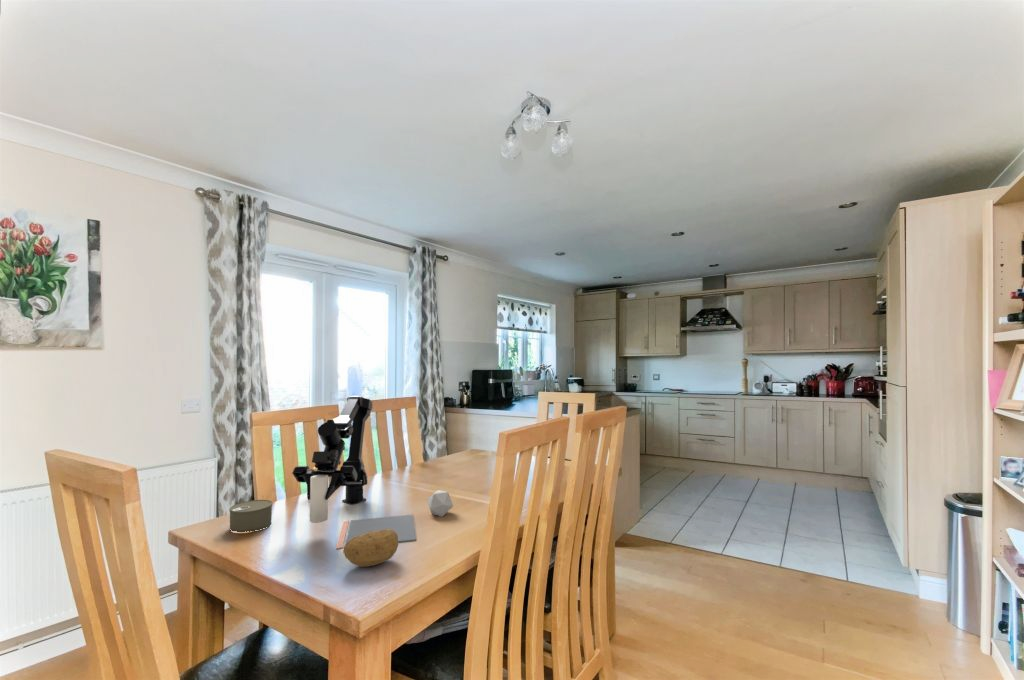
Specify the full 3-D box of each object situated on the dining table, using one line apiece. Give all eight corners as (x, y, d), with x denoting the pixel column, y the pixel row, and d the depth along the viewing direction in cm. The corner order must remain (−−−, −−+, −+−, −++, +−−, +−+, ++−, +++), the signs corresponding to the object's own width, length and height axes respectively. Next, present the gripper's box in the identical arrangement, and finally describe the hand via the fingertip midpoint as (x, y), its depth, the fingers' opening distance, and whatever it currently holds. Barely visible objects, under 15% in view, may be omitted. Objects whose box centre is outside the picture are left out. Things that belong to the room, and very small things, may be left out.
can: (279, 525, 145) (279, 503, 145) (240, 537, 135) (240, 514, 135) (260, 518, 152) (261, 497, 152) (221, 529, 142) (222, 507, 142)
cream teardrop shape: (306, 520, 135) (307, 477, 136) (321, 515, 139) (322, 473, 140) (315, 524, 133) (316, 479, 133) (331, 518, 137) (331, 476, 137)
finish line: (342, 548, 127) (342, 547, 127) (336, 549, 126) (336, 548, 126) (348, 521, 148) (348, 520, 148) (343, 522, 147) (343, 521, 147)
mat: (344, 548, 127) (344, 546, 127) (351, 521, 148) (351, 520, 148) (416, 540, 132) (416, 539, 132) (412, 515, 153) (412, 514, 153)
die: (457, 515, 155) (453, 488, 161) (447, 510, 148) (443, 482, 154) (436, 523, 156) (432, 496, 162) (425, 518, 149) (422, 490, 155)
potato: (339, 564, 117) (339, 533, 118) (392, 551, 125) (392, 522, 125) (348, 579, 109) (348, 546, 109) (403, 564, 117) (404, 533, 117)
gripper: (295, 440, 141) (276, 485, 129) (354, 440, 141) (341, 485, 129) (306, 459, 148) (289, 504, 137) (362, 459, 148) (350, 504, 137)
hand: (317, 499), depth 135 cm, fingers closed on cream teardrop shape, 5 cm apart
